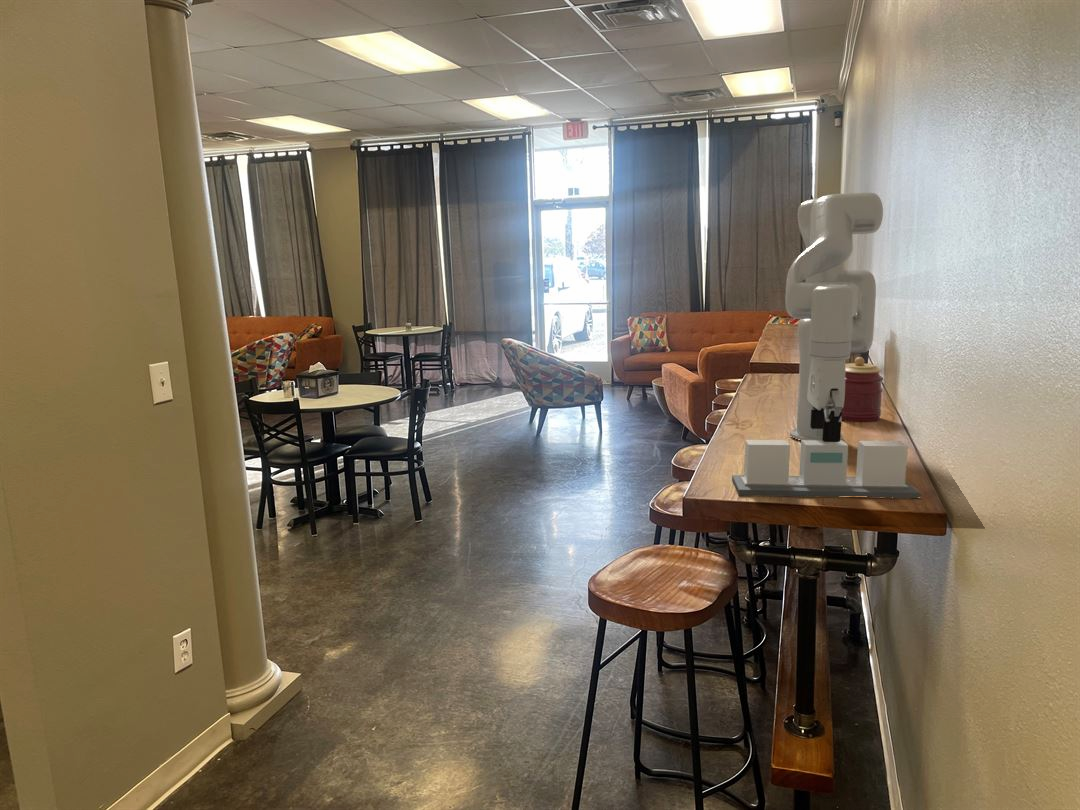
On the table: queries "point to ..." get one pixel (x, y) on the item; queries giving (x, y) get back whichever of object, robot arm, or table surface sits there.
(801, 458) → the block
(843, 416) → the canister
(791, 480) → the metal rail
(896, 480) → the mounted modules
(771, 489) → the rail board
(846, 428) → the table surface
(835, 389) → the robot arm
